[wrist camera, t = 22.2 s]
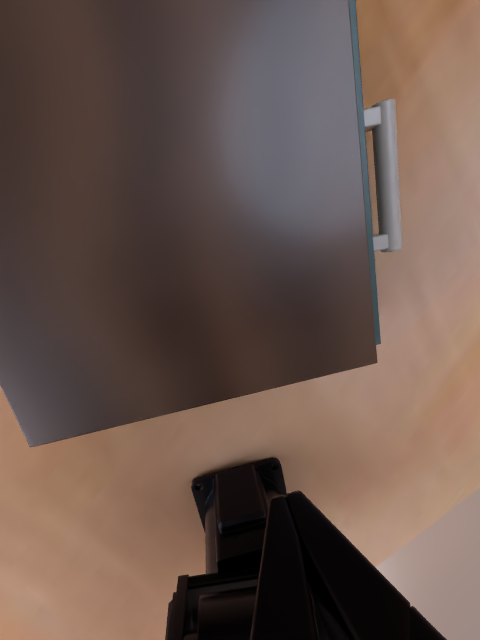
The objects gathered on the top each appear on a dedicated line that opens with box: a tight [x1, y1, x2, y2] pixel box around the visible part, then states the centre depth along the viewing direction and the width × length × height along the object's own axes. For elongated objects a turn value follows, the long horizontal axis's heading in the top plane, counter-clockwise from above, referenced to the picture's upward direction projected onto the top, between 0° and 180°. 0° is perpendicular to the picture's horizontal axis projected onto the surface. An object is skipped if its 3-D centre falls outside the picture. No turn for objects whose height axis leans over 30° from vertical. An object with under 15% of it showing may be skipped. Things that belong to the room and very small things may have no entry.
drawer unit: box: [0, 0, 377, 447], centre depth 15 cm, size 17×17×5 cm
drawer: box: [349, 0, 402, 345], centre depth 16 cm, size 19×17×3 cm
